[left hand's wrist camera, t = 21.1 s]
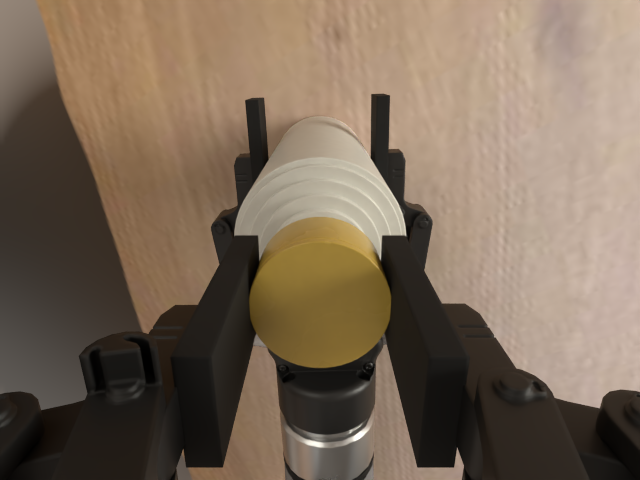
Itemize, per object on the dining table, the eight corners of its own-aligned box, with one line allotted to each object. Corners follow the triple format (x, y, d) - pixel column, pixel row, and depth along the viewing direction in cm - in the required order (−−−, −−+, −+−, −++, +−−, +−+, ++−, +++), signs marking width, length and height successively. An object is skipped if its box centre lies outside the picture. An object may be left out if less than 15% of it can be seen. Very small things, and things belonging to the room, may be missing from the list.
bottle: (375, 185, 34) (459, 350, 14) (296, 215, 35) (262, 413, 15) (346, 101, 32) (393, 148, 11) (262, 135, 33) (165, 236, 12)
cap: (284, 341, 15) (278, 383, 13) (239, 238, 14) (225, 267, 12) (395, 308, 15) (408, 346, 13) (361, 199, 14) (368, 222, 11)
